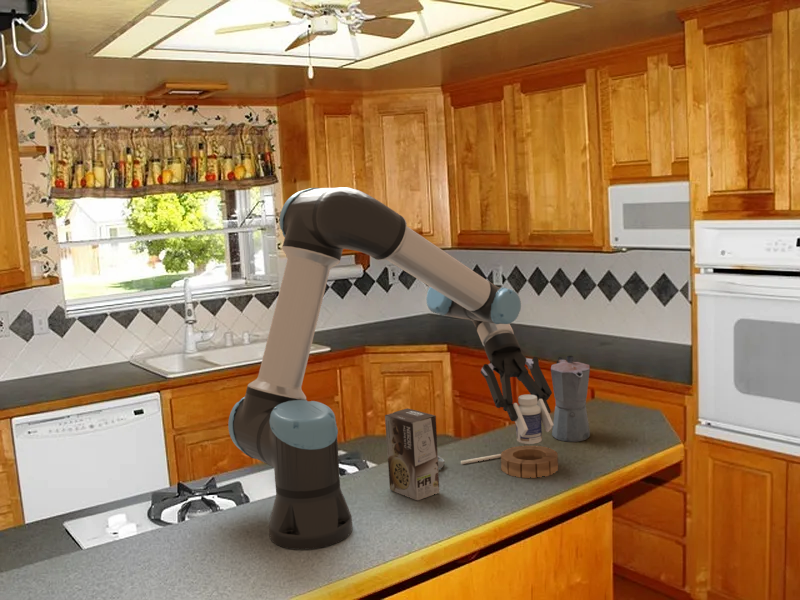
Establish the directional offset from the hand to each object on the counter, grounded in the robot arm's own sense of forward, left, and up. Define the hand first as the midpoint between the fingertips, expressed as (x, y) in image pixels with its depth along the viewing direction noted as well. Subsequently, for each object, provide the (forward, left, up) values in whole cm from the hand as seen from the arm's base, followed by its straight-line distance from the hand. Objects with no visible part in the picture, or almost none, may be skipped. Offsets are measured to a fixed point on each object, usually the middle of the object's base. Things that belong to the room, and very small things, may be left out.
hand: (537, 430), depth 174 cm
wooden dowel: (-4, +13, -9) cm, 16 cm away
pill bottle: (0, +4, -4) cm, 5 cm away
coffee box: (-27, +3, -10) cm, 29 cm away
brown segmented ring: (0, +4, -9) cm, 10 cm away
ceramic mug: (-21, +15, -10) cm, 28 cm away
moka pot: (+19, +19, -10) cm, 28 cm away
